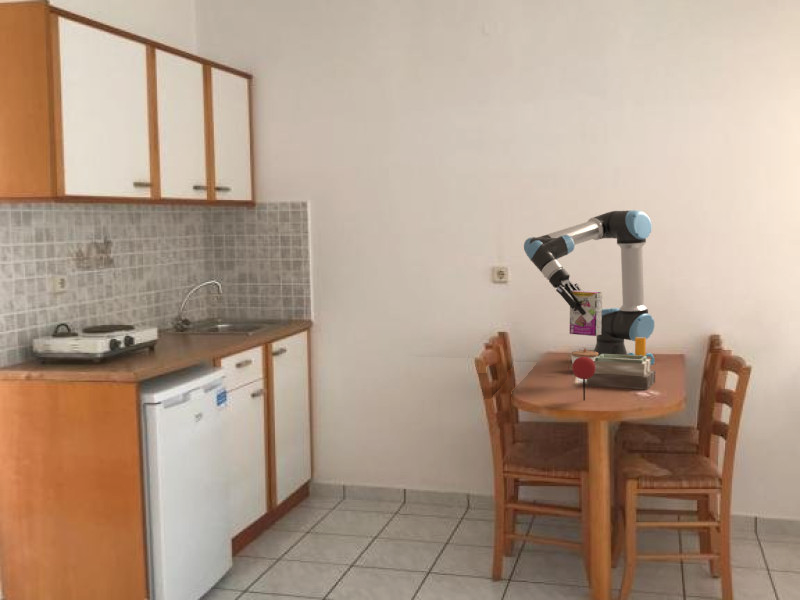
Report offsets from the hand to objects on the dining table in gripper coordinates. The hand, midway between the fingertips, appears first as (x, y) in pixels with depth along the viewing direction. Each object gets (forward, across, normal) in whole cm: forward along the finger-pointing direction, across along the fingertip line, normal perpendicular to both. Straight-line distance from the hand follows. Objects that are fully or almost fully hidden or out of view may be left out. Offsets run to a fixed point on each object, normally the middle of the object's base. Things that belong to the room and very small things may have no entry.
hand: (594, 319), depth 342 cm
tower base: (+23, -6, -11) cm, 26 cm away
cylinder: (+22, -26, -13) cm, 36 cm away
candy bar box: (+2, 0, -7) cm, 7 cm away
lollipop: (+25, +30, -9) cm, 40 cm away
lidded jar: (+6, -22, -29) cm, 37 cm away
